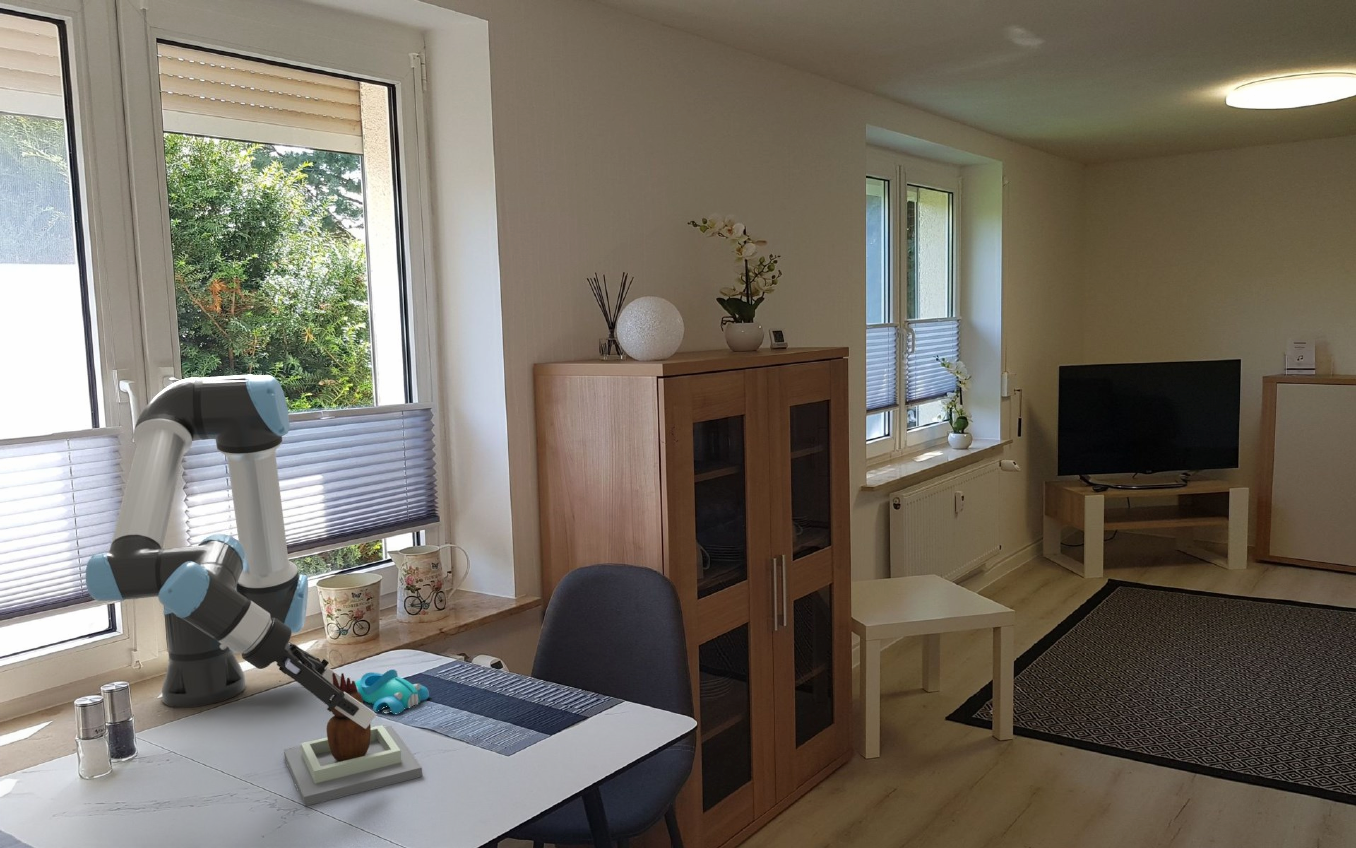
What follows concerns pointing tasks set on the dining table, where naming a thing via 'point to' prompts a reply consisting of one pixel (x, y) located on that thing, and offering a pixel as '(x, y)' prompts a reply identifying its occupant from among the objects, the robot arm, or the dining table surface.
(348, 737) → the wooden figurine
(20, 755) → the dining table surface
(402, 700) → the toy car
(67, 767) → the dining table surface
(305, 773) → the jig plate
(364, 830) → the dining table surface
